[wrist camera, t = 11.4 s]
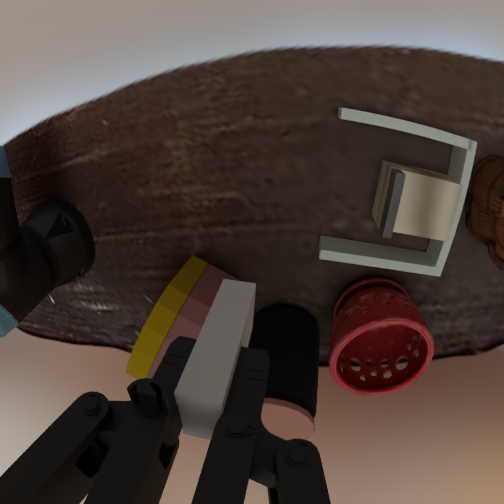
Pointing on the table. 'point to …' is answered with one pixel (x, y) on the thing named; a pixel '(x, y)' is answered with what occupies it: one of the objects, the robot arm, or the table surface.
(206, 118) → the table surface
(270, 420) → the coffee jar
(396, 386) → the plant pot
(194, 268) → the alarm clock
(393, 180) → the beige block
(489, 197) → the wooden figurine
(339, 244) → the dock
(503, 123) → the table surface
